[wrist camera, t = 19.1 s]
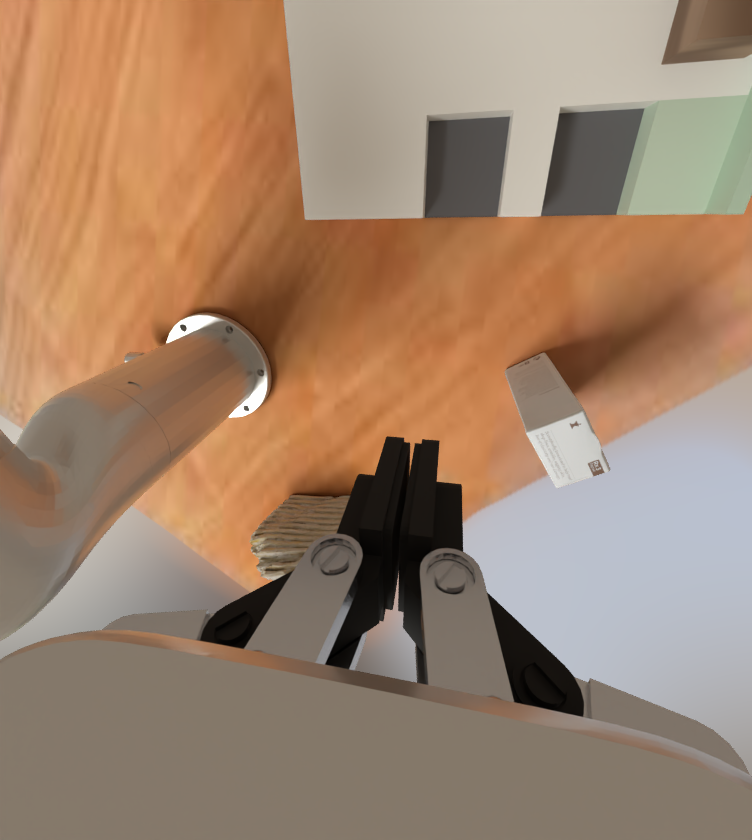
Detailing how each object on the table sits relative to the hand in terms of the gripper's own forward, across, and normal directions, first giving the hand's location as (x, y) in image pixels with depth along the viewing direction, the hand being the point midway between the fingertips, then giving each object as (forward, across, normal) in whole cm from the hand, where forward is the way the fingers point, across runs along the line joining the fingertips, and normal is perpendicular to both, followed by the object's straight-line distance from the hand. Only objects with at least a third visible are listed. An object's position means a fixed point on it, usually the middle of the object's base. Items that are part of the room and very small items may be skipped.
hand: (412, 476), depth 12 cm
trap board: (+27, -3, -14) cm, 31 cm away
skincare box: (+27, -10, +8) cm, 30 cm away
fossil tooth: (+27, +15, +29) cm, 43 cm away
